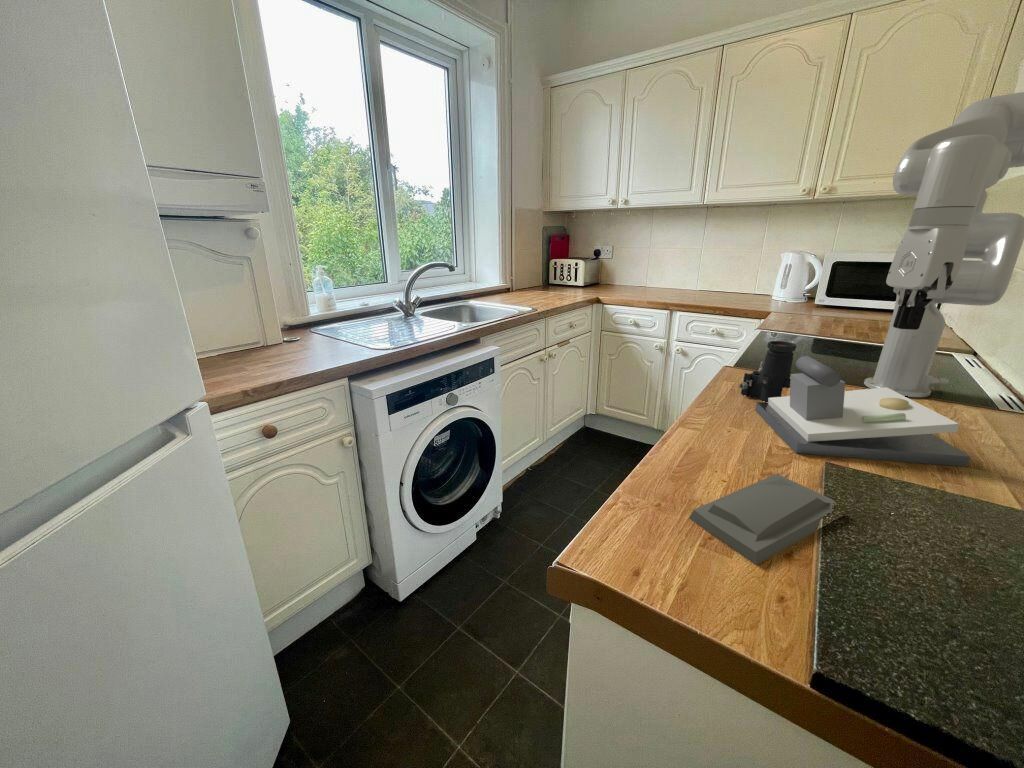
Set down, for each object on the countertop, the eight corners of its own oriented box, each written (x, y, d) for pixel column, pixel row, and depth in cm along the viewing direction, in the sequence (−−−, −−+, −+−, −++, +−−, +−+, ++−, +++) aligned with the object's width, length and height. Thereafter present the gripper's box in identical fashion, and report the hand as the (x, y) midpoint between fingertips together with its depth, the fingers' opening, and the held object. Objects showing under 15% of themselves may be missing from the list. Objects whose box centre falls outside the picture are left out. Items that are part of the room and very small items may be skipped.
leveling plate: (886, 394, 85) (891, 340, 82) (957, 431, 68) (968, 366, 65) (768, 404, 90) (768, 353, 87) (807, 441, 73) (810, 381, 70)
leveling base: (887, 418, 88) (890, 410, 87) (966, 466, 69) (970, 456, 68) (754, 410, 92) (756, 401, 91) (795, 453, 74) (798, 443, 73)
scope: (766, 336, 100) (810, 345, 92) (755, 389, 105) (796, 402, 96) (745, 340, 96) (790, 349, 88) (735, 395, 101) (776, 409, 93)
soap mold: (846, 519, 57) (852, 497, 56) (756, 569, 49) (762, 545, 47) (772, 482, 66) (777, 463, 65) (685, 520, 57) (688, 498, 56)
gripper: (886, 223, 77) (858, 320, 83) (948, 217, 63) (909, 335, 69) (932, 223, 76) (901, 323, 81) (1007, 217, 62) (962, 337, 67)
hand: (905, 328), depth 75 cm, fingers closed
